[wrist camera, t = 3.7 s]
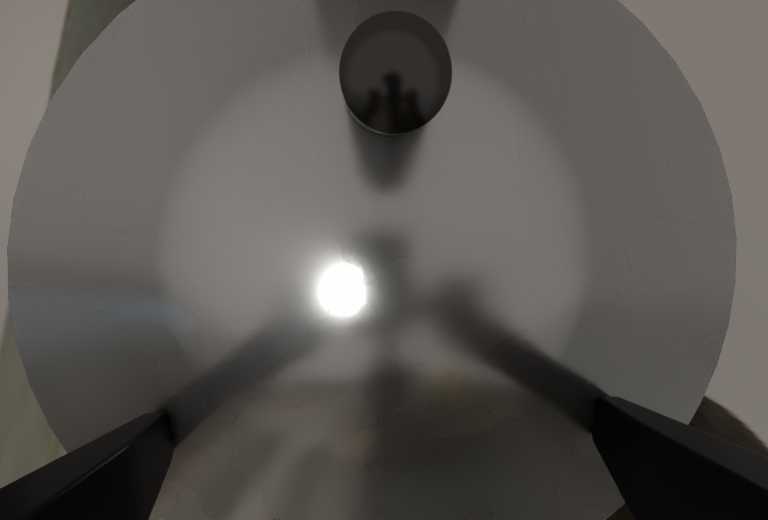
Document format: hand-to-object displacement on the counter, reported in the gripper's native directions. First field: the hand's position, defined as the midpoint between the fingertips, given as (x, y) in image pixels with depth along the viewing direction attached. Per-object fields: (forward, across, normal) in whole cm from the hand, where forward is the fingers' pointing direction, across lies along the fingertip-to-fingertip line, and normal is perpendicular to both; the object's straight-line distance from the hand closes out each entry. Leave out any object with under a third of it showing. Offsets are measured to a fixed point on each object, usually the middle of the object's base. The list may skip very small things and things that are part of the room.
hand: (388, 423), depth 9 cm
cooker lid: (+1, 0, -5) cm, 5 cm away
